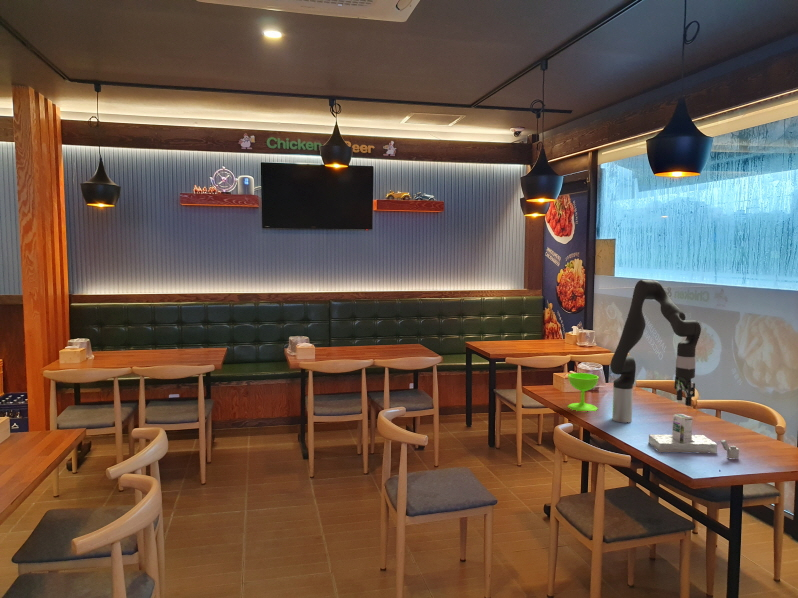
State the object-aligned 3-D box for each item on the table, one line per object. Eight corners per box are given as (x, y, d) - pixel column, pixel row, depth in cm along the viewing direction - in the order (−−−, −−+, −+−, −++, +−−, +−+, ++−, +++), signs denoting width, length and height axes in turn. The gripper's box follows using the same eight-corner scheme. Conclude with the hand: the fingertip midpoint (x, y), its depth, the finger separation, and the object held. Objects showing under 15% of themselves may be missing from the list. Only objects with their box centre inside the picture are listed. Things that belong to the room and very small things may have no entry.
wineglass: (601, 412, 305) (602, 379, 303) (571, 412, 305) (572, 379, 304) (592, 404, 321) (593, 373, 319) (563, 404, 321) (564, 373, 320)
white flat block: (648, 443, 255) (649, 434, 255) (703, 444, 254) (703, 435, 254) (659, 452, 243) (659, 443, 243) (716, 453, 242) (717, 444, 242)
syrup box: (670, 446, 251) (672, 414, 250) (681, 445, 253) (682, 413, 252) (681, 450, 245) (682, 418, 244) (691, 449, 247) (693, 416, 246)
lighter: (736, 457, 237) (737, 439, 237) (738, 459, 236) (739, 440, 235) (719, 458, 237) (720, 439, 236) (722, 459, 235) (723, 440, 235)
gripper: (669, 362, 253) (668, 398, 254) (684, 369, 239) (682, 407, 240) (686, 363, 253) (685, 398, 254) (702, 369, 239) (700, 407, 240)
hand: (683, 402), depth 247 cm, fingers open, 8 cm apart
